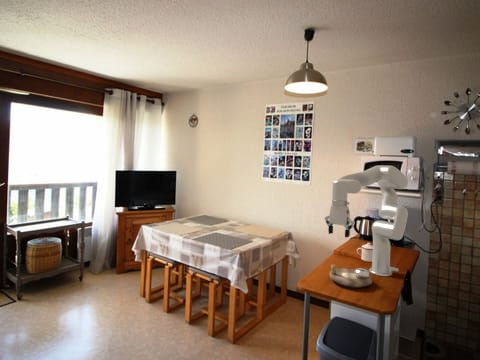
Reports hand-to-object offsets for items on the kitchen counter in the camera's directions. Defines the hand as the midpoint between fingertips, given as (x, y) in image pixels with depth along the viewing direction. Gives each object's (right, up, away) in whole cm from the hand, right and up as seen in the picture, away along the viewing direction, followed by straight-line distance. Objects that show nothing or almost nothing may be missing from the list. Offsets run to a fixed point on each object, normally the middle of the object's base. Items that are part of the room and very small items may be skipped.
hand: (338, 235), depth 156 cm
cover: (+14, -24, +5) cm, 28 cm away
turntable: (+9, -25, +6) cm, 27 cm away
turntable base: (+9, -27, +6) cm, 29 cm away
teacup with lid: (+34, -26, +46) cm, 63 cm away
